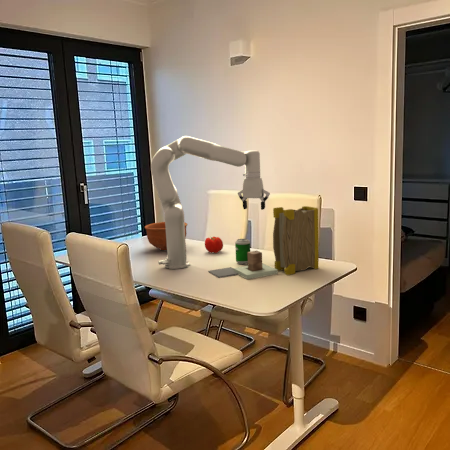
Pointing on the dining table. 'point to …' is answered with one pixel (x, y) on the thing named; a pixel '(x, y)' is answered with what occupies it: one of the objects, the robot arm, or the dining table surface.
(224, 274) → the rubber mat
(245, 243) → the soda can
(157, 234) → the bowl
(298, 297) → the dining table surface
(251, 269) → the walnut block
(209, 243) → the tomato
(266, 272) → the pocket board
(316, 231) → the decorative book
